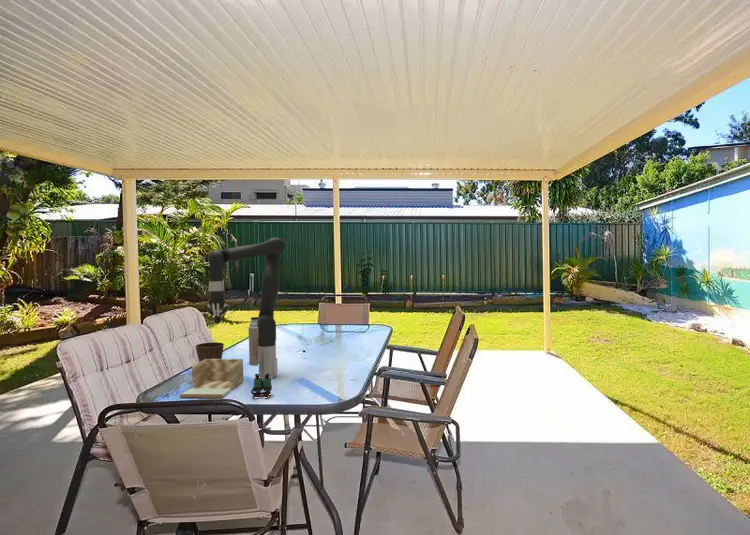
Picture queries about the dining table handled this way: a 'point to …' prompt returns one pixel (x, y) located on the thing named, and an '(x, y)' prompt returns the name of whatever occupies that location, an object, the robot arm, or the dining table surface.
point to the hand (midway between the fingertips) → (217, 323)
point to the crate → (218, 373)
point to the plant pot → (209, 351)
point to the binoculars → (262, 386)
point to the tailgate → (205, 392)
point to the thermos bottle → (253, 342)
